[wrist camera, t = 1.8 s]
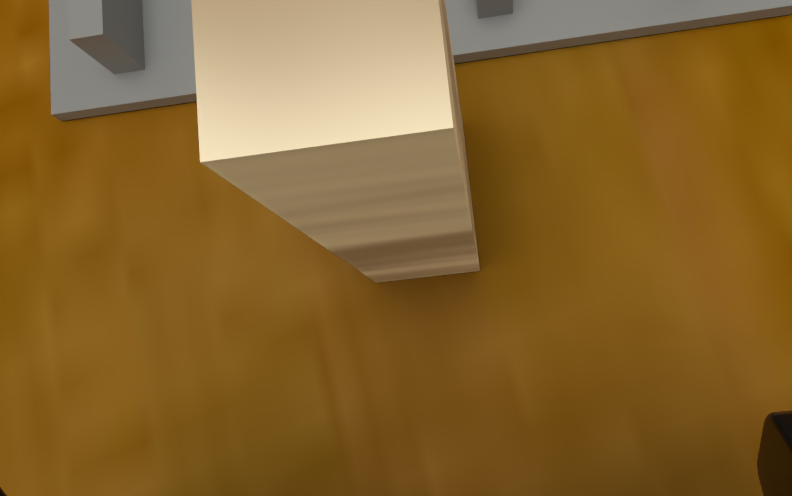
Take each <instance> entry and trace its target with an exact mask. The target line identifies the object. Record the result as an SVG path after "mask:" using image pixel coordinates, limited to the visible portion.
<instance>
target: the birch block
mask: <svg viewBox="0 0 792 496" xmlns="http://www.w3.org/2000/svg"><path fill="white" fill-rule="evenodd" d="M191 4H192V22H193V40H194V59H195V77H196V95H197V113H198V131H199V150H200V162H201V163H202V164H203V165H205V166H206V167H208V168H209V169H211V170H212V171H214V172H215V173H217V174H218V175H220V176H221V177H222V178H224V179H225V180H227V181H228V182H230V183H231V184H233V185H234V186H236V187H237V188H239V189H240V190H241V191H243V192H244V193H246V194H247V195H249V196H250V197H252V198H253V199H255V200H256V201H257V202H259V203H260V204H262V205H263V206H265V207H266V208H268V209H269V210H271V211H272V212H274V213H275V214H276V215H278V216H279V217H281V218H282V219H284V220H285V221H287V222H288V223H290V224H291V225H292V226H294V227H295V228H297V229H298V230H300V231H301V232H303V233H304V234H306V235H307V236H309V237H310V238H311V239H313V240H314V241H316V242H317V243H319V244H320V245H322V246H323V247H325V248H326V249H327V250H329V251H330V252H332V253H333V254H335V255H336V256H338V257H339V258H341V259H342V260H344V261H345V262H346V263H348V264H349V265H351V266H352V267H354V268H355V269H357V270H358V271H360V272H361V273H363V274H364V275H365V276H367V277H368V278H370V279H371V280H373V281H374V282H376V283H378V282H386V281H395V280H404V279H413V278H421V277H430V276H439V275H448V274H457V273H465V272H474V271H480V267H479V258H478V250H477V241H476V232H475V224H474V215H473V207H472V198H471V190H470V181H469V173H468V164H467V156H466V147H465V139H464V130H463V122H462V114H461V107H460V100H459V94H458V87H457V80H456V73H455V66H454V59H453V52H452V45H451V38H450V31H449V24H448V17H447V10H446V3H445V0H191Z"/></svg>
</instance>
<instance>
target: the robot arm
mask: <svg viewBox="0 0 792 496" xmlns="http://www.w3.org/2000/svg"><path fill="white" fill-rule="evenodd" d="M757 468H758V476H759V480H760V484H761V487H762V491H763V494H764V496H792V411H781V412H773V413H770V414H769V415H768V416H767V417H766V419H765V422H764V426H763V432H762V437H761V443H760V448H759V454H758V460H757ZM0 496H7V495H6V494H5V493H4V491H3V490H2V489H1V487H0Z"/></svg>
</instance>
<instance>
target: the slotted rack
mask: <svg viewBox="0 0 792 496" xmlns="http://www.w3.org/2000/svg"><path fill="white" fill-rule="evenodd" d="M445 3H446V10H447V17H448V24H449V31H450V38H451V45H452V52H453V59H454V64H455V63H462V62H469V61H475V60H482V59H489V58H496V57H503V56H510V55H516V54H523V53H530V52H537V51H544V50H551V49H557V48H564V47H571V46H578V45H585V44H592V43H599V42H605V41H612V40H619V39H626V38H633V37H640V36H646V35H653V34H660V33H667V32H674V31H681V30H687V29H694V28H701V27H708V26H715V25H722V24H728V23H735V22H742V21H749V20H756V19H763V18H769V17H776V16H783V15H790V14H791V13H792V0H445ZM49 30H50V79H51V115H53V116H54V117H56V118H58V119H60V120H62V121H65V120H72V119H79V118H86V117H92V116H99V115H106V114H113V113H120V112H127V111H133V110H140V109H147V108H154V107H161V106H168V105H175V104H181V103H188V102H195V101H197V95H196V77H195V59H194V40H193V22H192V4H191V0H49Z"/></svg>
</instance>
